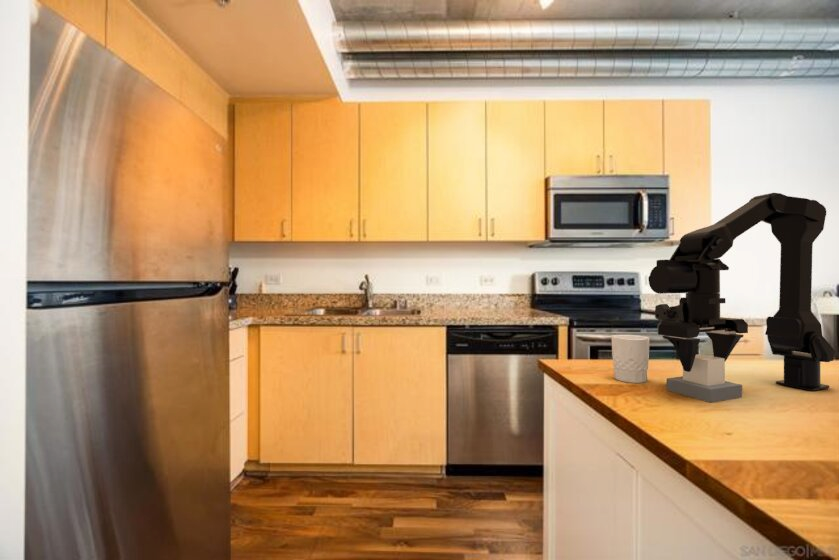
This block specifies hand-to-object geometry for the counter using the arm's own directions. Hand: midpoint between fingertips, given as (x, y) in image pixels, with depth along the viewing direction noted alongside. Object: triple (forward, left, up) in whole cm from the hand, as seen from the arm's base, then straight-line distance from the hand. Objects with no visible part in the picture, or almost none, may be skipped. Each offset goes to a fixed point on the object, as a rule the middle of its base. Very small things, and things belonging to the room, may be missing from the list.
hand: (703, 369), depth 81 cm
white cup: (+4, -14, -5) cm, 15 cm away
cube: (0, 0, -2) cm, 3 cm away
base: (0, 0, -5) cm, 5 cm away
